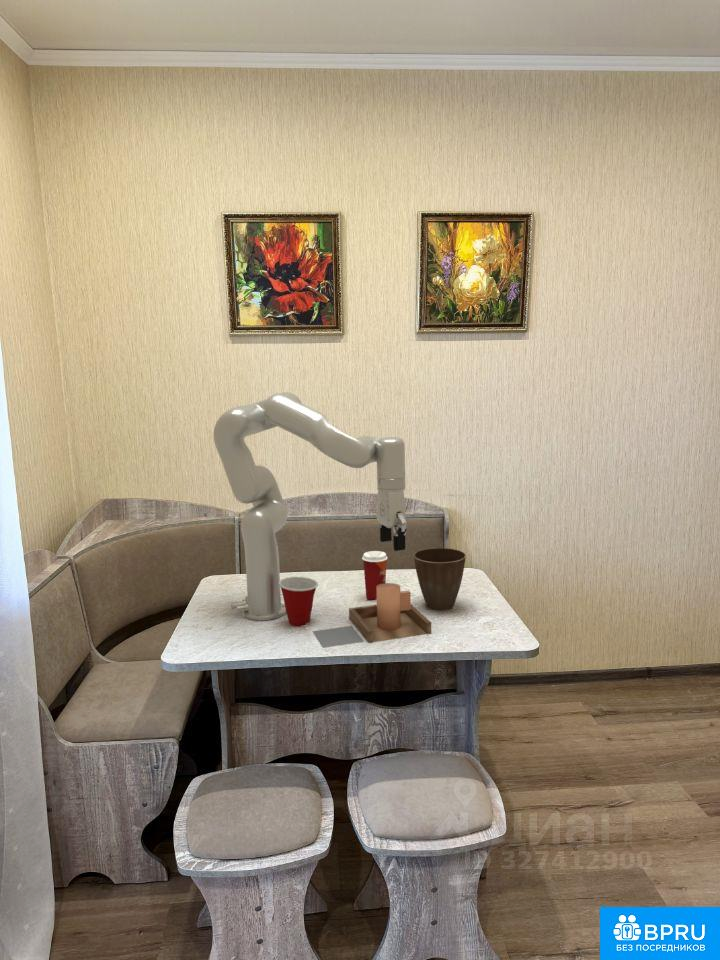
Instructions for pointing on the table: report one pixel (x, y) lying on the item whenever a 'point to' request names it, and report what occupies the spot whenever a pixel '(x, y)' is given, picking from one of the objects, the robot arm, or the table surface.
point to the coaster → (337, 636)
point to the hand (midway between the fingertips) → (392, 545)
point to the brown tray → (367, 626)
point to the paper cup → (374, 572)
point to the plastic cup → (298, 598)
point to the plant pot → (439, 576)
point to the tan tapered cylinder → (391, 605)
